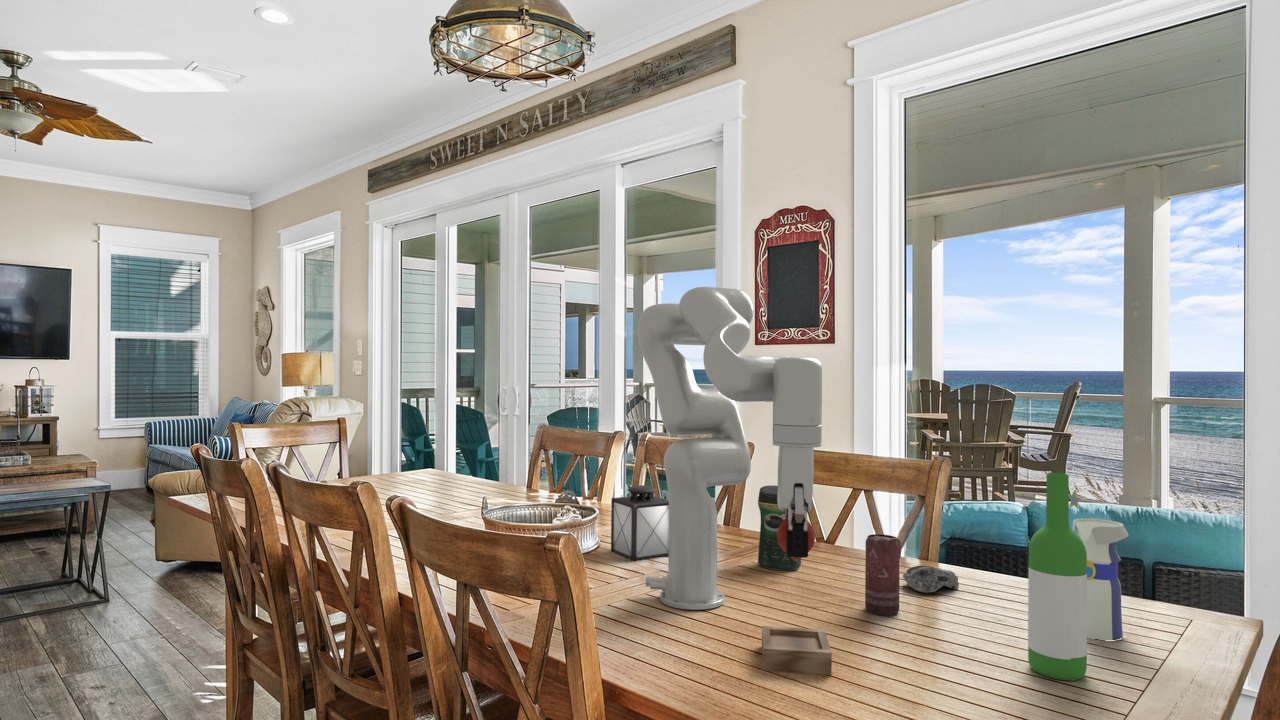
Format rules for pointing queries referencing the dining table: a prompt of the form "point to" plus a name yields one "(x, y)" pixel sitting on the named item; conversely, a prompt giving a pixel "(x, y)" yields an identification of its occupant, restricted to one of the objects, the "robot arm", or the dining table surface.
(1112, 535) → the white spray bottle
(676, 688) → the dining table surface
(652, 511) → the lantern
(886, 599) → the can
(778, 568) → the coffee jar
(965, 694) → the dining table surface
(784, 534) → the onion
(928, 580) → the fossilized seashell
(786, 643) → the wooden square tray
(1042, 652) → the wine bottle
